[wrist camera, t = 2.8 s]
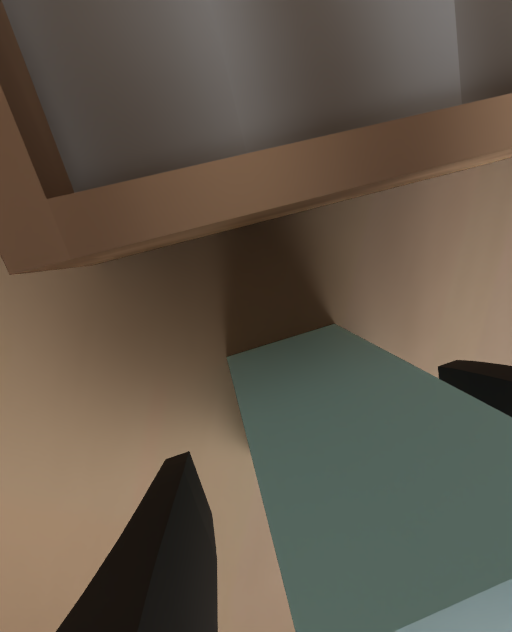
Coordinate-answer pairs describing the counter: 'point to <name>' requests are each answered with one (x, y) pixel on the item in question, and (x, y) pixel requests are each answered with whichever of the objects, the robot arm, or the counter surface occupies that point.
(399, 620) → the peg
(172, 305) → the counter surface
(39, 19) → the bore box
